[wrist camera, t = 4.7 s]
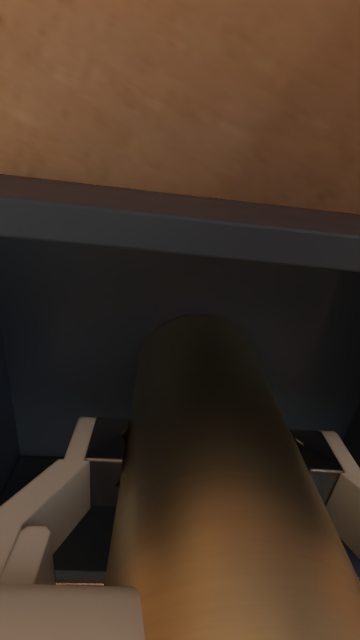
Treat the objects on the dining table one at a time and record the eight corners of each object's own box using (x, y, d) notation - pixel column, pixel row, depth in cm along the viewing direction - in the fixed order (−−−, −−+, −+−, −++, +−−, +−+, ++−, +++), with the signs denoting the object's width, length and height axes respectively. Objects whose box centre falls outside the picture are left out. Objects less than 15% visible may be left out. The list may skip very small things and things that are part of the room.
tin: (141, 308, 13) (75, 661, 4) (264, 319, 13) (482, 662, 4) (135, 406, 15) (84, 783, 6) (241, 413, 15) (349, 776, 6)
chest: (-33, 170, 11) (-214, 173, 6) (441, 223, 12) (640, 265, 7) (13, 452, 17) (-57, 581, 12) (332, 468, 18) (398, 590, 13)
